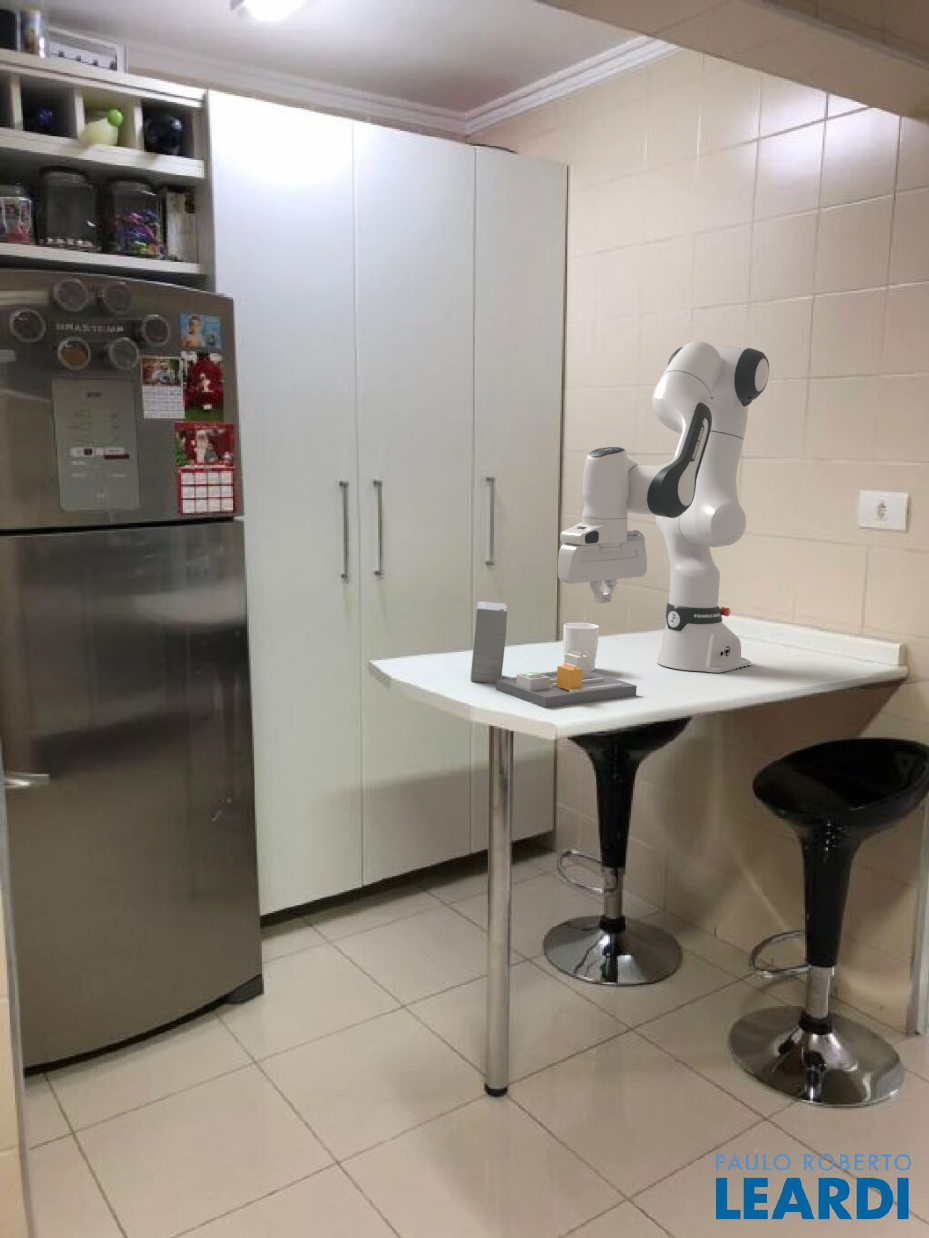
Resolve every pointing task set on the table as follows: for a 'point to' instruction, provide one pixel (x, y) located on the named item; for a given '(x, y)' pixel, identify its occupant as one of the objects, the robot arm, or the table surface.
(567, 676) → the slider
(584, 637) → the white cup
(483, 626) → the skincare box
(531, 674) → the button
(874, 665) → the table surface
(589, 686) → the panel
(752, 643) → the table surface
